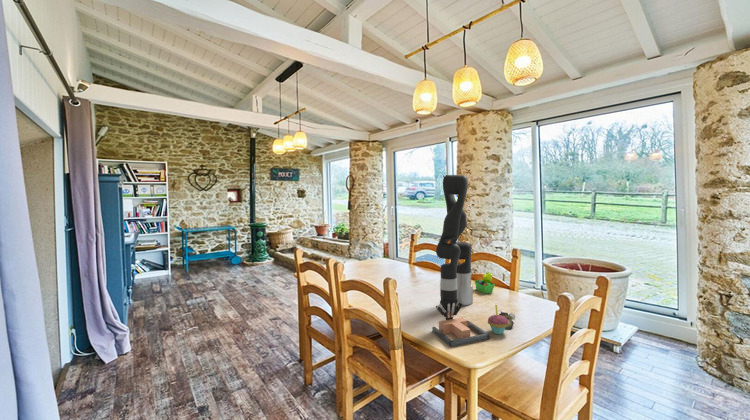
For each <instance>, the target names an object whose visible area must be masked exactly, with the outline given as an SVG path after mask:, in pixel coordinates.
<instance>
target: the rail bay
mask: <svg viewBox="0 0 750 420" xmlns="http://www.w3.org/2000/svg"><path fill="white" fill-rule="evenodd" d="M467 327H468V328H469V329H470V330H472V331H474V332H475V333H476V334H477V335H472V336H471V335H470V337H466V338H461V339H460V338H457V339H451V338H449V336H447V334H443V333H442V332H441V331H440V330H439V328H437V327H436V326H432V328H431V331H432V333H434V334H435V335H436V336H437V337H438V338H440V340H442V341H443V342H444V343H445V344H446V345H448V346H449V347H451V348H453V347H458V346H462V345H463V346H464V345H467V344H473V343H477V342H481V341H487V340H490V338H491V337H490V336H491V335H490V333H488V332H487V331H485V330H483V328H481V327H479V326H478V325H476V324H474V323H473V322H471V321H469V320H467Z"/></svg>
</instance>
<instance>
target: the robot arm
mask: <svg viewBox="0 0 750 420" xmlns="http://www.w3.org/2000/svg"><path fill="white" fill-rule="evenodd" d="M468 186H469V180H468V177H467V176H466V175H465V174H447V175H444V177H443V179H442V189H443V195H444V199H445V205H446V207H445V208H446V215H445V217H444V220H443V226H442V234H441V236H440V239H439V240H438V243H437V245H436V249H435V253H436V256H437V257H438V258H439V259H443V260H450V262H449V263H443V264H441V265H440V280H439V287H440V288H439V290H440V293H439V295H440V301H439V304H438V305H435V309H436V310H437V311H438V313H439V314H440V315H441V316H443V317H444V318H445V320H450V319H454V317H455V316H457V315H458V313H459V312H460V309H461V308H462V307H463V306H470V305H471V304H473V303H474V299H473V298H474V286H473V285H472V244H471V243H470V242H464V241H462V242H460V241H458V239H459V238H460V236H461V235H462V234H463V232H464V231H465V230H466V228H467V225H468V222H467V215H466V213H467V212H465V210H464V205H465V201H466V197H467V192H468V188H469V187H468ZM455 195H456V196H457V199H455ZM460 260H462V261H463V260H464V261H463V262H462V263H459V264H458V262H459V261H460Z"/></svg>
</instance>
